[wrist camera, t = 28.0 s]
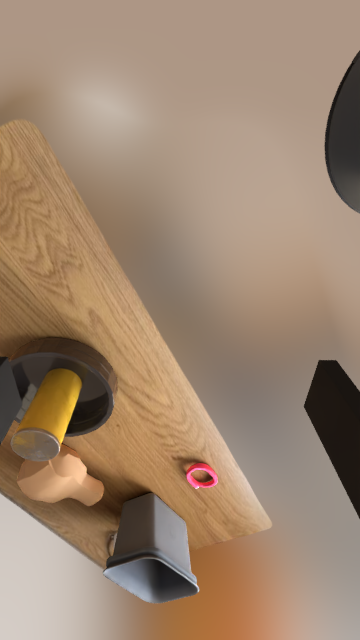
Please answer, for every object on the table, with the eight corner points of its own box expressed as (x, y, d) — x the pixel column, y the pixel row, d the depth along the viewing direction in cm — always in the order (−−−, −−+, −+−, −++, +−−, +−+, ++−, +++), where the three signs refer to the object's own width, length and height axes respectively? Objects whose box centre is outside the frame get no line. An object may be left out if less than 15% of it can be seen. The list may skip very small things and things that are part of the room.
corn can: (79, 368, 52) (54, 430, 41) (84, 396, 56) (62, 461, 44) (40, 367, 52) (5, 430, 41) (47, 396, 55) (16, 461, 44)
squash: (53, 425, 60) (47, 466, 53) (117, 465, 71) (120, 504, 64) (10, 453, 61) (-1, 497, 54) (80, 489, 72) (78, 530, 65)
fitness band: (180, 468, 68) (180, 475, 67) (203, 459, 66) (204, 465, 65) (199, 486, 71) (199, 493, 70) (221, 477, 70) (222, 484, 69)
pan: (113, 336, 50) (108, 353, 46) (121, 417, 59) (117, 436, 55) (-4, 334, 49) (-19, 351, 45) (22, 417, 59) (11, 436, 55)
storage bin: (200, 523, 80) (205, 594, 67) (149, 539, 83) (145, 609, 71) (157, 481, 70) (153, 554, 58) (101, 501, 73) (87, 574, 61)
